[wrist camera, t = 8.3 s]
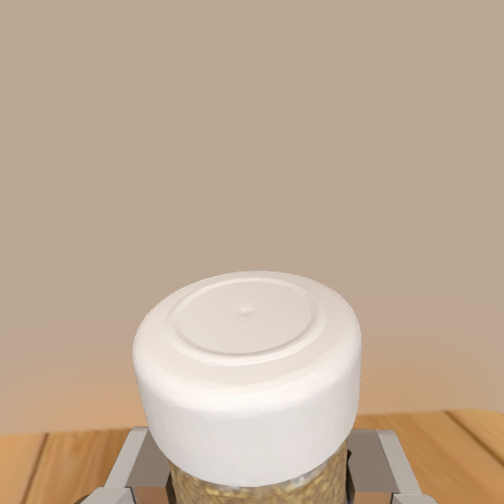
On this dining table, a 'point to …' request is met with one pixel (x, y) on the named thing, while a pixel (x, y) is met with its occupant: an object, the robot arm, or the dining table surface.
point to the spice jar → (251, 388)
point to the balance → (81, 499)
